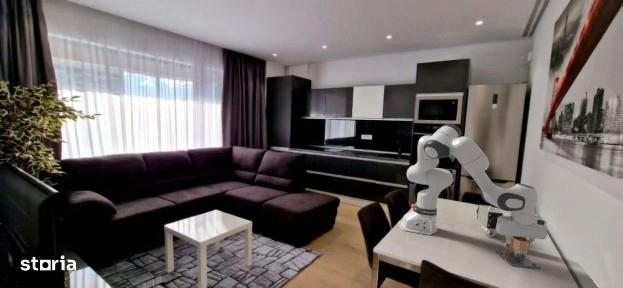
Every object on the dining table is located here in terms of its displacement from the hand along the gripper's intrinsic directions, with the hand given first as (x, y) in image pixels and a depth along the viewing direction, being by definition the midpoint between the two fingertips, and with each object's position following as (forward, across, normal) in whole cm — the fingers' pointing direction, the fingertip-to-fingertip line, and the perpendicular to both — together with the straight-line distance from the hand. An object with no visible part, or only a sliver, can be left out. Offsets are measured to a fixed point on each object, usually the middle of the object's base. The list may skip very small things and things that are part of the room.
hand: (518, 244), depth 121 cm
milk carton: (+8, +7, +14) cm, 17 cm away
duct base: (+8, 0, 0) cm, 8 cm away
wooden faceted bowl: (+2, 0, 0) cm, 2 cm away
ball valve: (+8, +1, +29) cm, 31 cm away
